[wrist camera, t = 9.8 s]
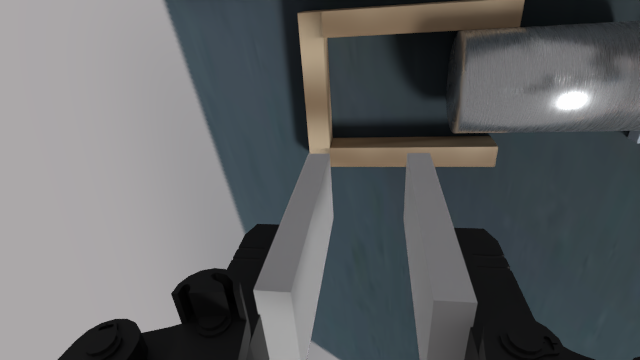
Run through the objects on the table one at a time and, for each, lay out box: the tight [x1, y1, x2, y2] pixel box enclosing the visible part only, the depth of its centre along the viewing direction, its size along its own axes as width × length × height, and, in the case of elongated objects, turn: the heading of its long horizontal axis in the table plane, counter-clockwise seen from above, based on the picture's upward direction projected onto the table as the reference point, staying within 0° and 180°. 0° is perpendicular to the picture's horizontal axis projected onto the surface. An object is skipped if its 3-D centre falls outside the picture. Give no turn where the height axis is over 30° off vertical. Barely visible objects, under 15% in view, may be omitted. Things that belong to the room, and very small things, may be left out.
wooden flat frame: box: [297, 0, 525, 167], centre depth 24 cm, size 10×13×2 cm
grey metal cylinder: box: [446, 21, 640, 133], centre depth 21 cm, size 10×6×6 cm, turn 94°
